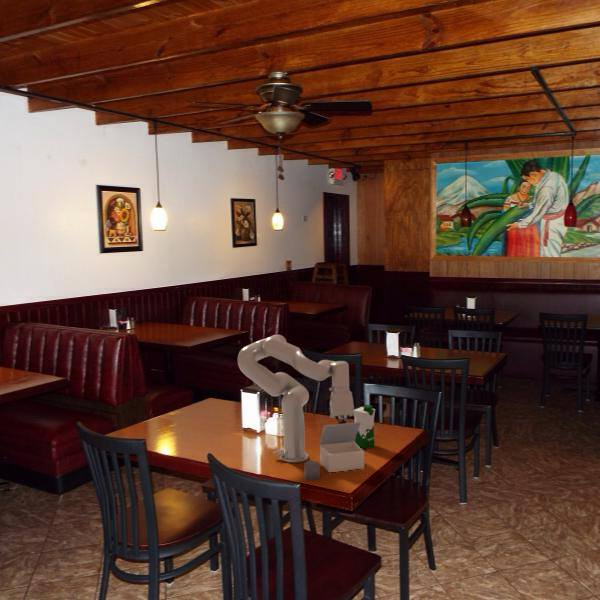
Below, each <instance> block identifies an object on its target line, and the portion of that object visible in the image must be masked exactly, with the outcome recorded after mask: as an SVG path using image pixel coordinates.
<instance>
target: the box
mask: <svg viewBox="0 0 600 600" xmlns="http://www.w3.org/2000/svg"><path fill="white" fill-rule="evenodd" d="M319 460H320V461H319V463H321V465H322V466H323V467H324V469H325V470H326V472H327V473H328V472H329V473H328V474H331V473H330V472H336V473H339V472H338V471H344V472H349V471H348V470H353V471H355V470H354V469H362V468H364V469H365V451H364V450H363V448H360V447H359V446H358V445H357V444H356V443H355V440H354V441H350V442H340V443H330V444H321V445H319ZM362 470H363V469H362Z"/></svg>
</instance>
